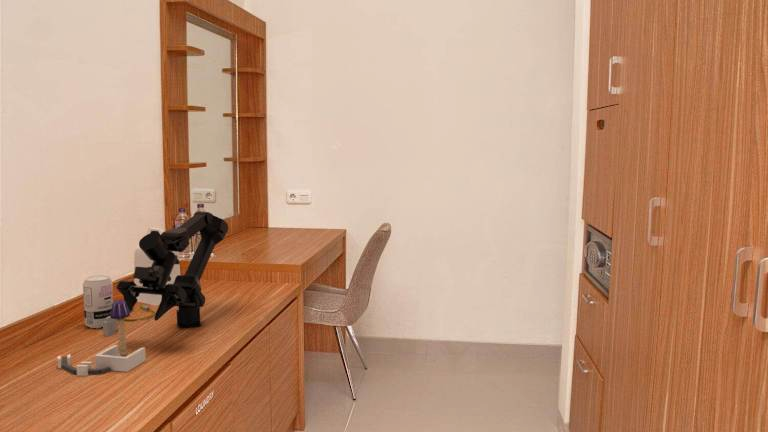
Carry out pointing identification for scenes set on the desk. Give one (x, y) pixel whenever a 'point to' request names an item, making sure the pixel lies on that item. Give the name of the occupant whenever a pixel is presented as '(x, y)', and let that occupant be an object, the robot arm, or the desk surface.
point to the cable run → (90, 371)
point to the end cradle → (119, 359)
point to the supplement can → (97, 300)
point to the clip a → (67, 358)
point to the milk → (144, 261)
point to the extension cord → (143, 309)
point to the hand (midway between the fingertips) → (140, 318)
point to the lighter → (109, 326)
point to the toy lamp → (120, 323)
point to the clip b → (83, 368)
